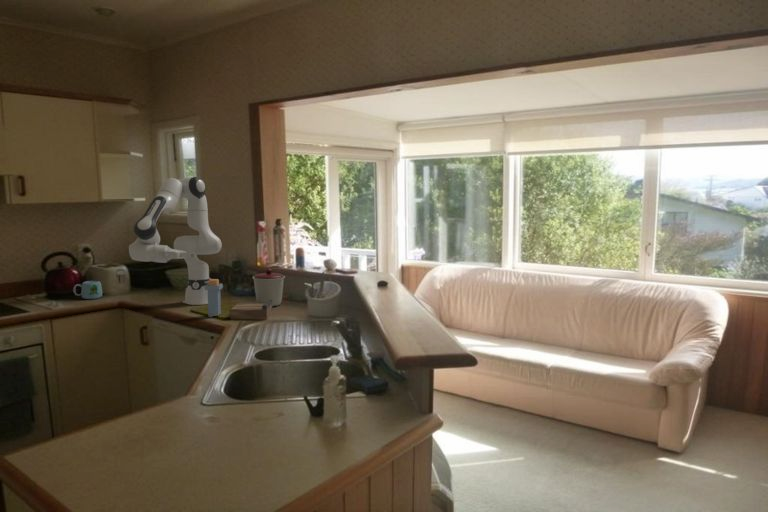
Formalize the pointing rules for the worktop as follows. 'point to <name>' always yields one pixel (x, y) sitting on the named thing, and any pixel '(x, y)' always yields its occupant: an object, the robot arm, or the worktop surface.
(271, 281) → the canister
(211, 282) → the cargo cube
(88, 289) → the mug
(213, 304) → the cargo post
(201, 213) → the robot arm
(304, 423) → the worktop surface
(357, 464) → the worktop surface
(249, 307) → the dock
